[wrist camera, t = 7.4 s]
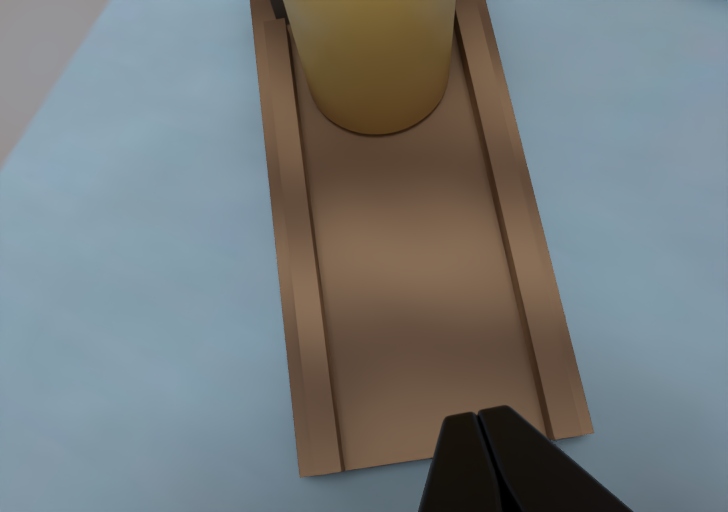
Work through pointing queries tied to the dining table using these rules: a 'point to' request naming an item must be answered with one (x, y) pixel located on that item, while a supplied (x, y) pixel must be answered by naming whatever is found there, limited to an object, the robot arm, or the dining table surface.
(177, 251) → the dining table surface
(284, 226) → the rail
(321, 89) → the tan cylinder
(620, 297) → the dining table surface
